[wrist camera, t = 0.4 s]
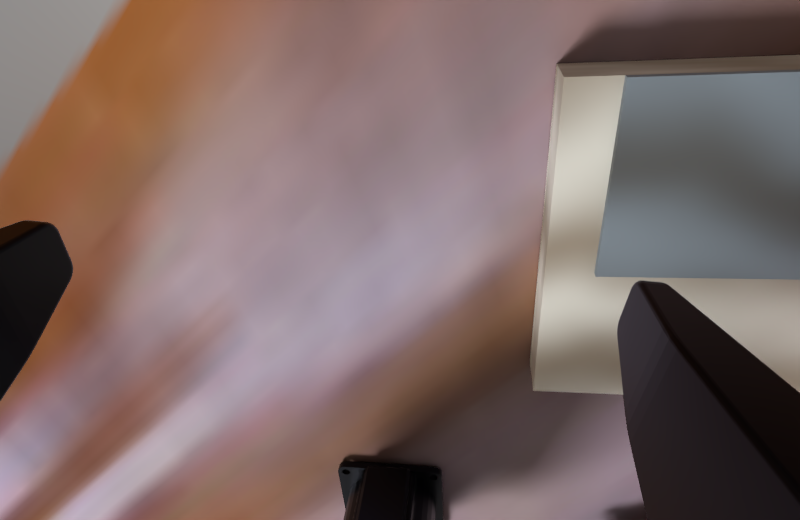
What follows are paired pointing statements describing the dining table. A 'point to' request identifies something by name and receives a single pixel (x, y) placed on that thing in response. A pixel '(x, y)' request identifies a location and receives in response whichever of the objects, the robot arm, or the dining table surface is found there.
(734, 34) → the dining table surface
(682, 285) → the puzzle board
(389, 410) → the dining table surface
